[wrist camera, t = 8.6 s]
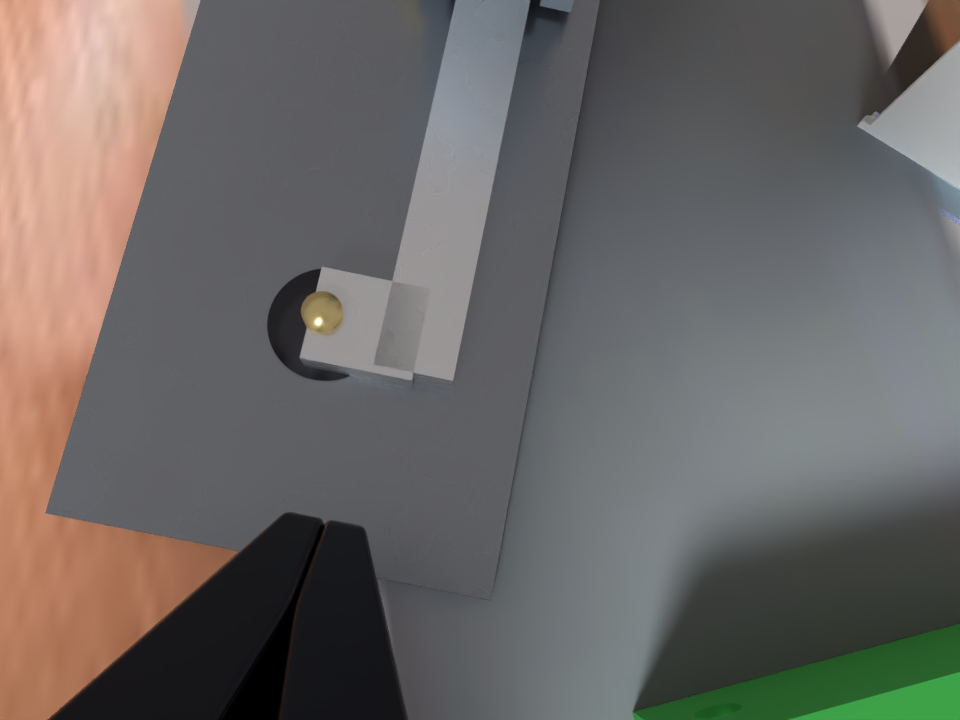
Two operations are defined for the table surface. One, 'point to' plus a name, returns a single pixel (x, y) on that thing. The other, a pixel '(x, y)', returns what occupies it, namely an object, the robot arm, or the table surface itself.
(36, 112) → the table surface
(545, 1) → the gray rectangular block
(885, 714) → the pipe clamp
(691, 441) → the table surface
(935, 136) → the diorama
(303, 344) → the flange plate
